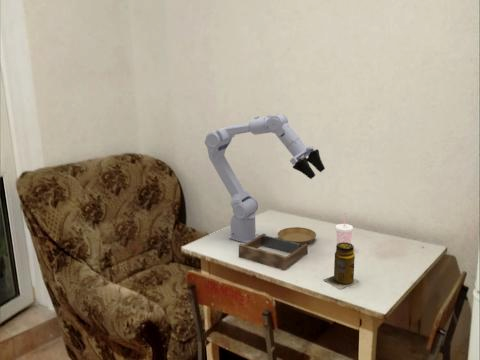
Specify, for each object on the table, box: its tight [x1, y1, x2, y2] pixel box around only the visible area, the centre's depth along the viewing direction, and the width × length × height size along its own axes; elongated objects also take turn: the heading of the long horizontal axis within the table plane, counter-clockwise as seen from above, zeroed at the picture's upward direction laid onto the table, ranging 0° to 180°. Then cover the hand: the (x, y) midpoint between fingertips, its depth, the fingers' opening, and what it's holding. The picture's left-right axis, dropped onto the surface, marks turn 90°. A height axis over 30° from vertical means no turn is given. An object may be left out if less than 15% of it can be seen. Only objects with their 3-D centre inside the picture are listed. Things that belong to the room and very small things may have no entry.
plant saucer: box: [277, 226, 317, 246], centre depth 175 cm, size 15×15×3 cm
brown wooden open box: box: [238, 233, 309, 271], centre depth 161 cm, size 19×16×4 cm
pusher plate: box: [261, 234, 302, 254], centre depth 165 cm, size 16×1×4 cm, turn 54°
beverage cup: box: [335, 213, 354, 245], centre depth 163 cm, size 6×6×14 cm
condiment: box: [323, 242, 360, 290], centre depth 141 cm, size 7×8×12 cm
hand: (318, 173), depth 156 cm, fingers open, 7 cm apart
